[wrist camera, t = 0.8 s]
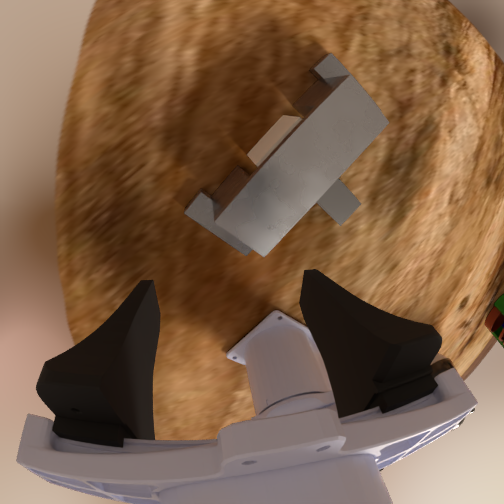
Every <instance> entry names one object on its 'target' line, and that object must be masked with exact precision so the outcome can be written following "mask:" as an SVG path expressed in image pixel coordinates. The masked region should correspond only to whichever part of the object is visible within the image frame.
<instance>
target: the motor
mask: <svg viewBox="0 0 504 504" xmlns="http://www.w3.org/2000/svg"><path fill="white" fill-rule="evenodd" d="M485 326H486V327H487V328H488V329H489V331H490V332H491V333H492V334H493V335H494V337H495V338H496V339H497V340H498V341H499V343H500V344H501V345H502V346H503V348H504V294H503V295H502V296H501V297H500V298H499V299H498V300H497V301H496V302H495V303H494V307H493V309H492V310H491V311H490V313H489V315H488V316H487V318H486V321H485Z"/></svg>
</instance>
